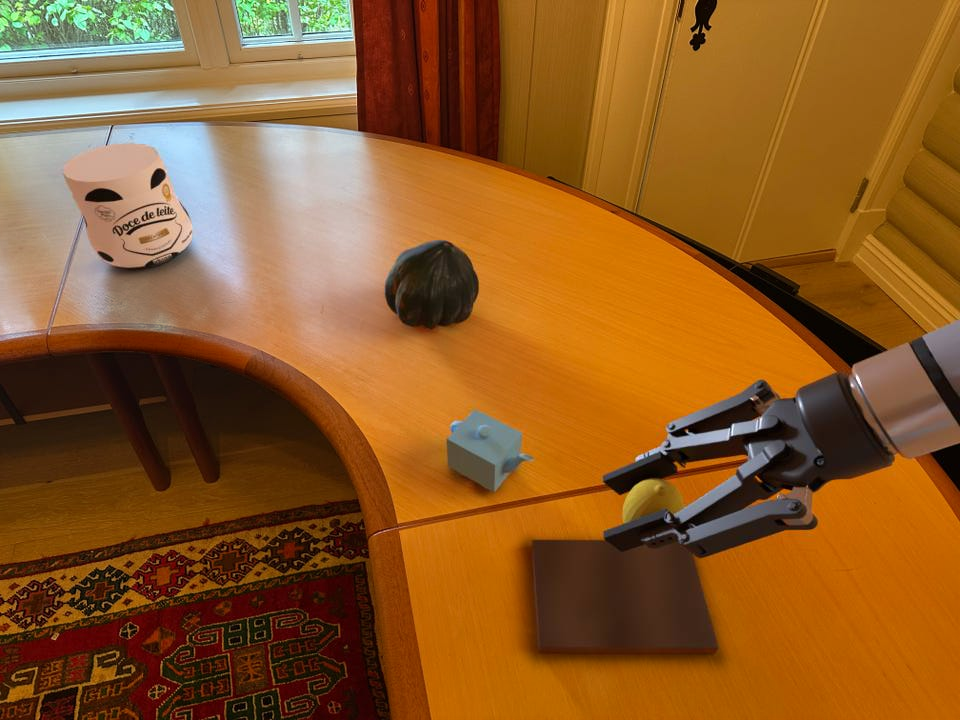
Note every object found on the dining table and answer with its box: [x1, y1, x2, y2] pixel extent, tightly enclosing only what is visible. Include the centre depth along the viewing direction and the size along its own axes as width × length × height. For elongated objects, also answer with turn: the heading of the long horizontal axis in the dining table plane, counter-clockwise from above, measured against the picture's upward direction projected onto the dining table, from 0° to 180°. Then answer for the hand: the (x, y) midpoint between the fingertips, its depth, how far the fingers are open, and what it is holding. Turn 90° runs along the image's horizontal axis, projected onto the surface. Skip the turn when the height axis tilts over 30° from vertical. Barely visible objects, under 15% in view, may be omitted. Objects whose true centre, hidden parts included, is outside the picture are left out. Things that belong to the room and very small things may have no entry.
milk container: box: [62, 142, 194, 270], centre depth 110 cm, size 17×17×18 cm
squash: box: [384, 239, 480, 330], centre depth 97 cm, size 14×15×15 cm
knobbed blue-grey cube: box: [445, 408, 534, 493], centre depth 76 cm, size 12×6×8 cm, turn 56°
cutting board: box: [531, 539, 719, 655], centre depth 65 cm, size 18×12×2 cm, turn 90°
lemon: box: [622, 478, 686, 546], centre depth 56 cm, size 6×6×8 cm
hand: (612, 512), depth 57 cm, fingers closed on lemon, 5 cm apart
